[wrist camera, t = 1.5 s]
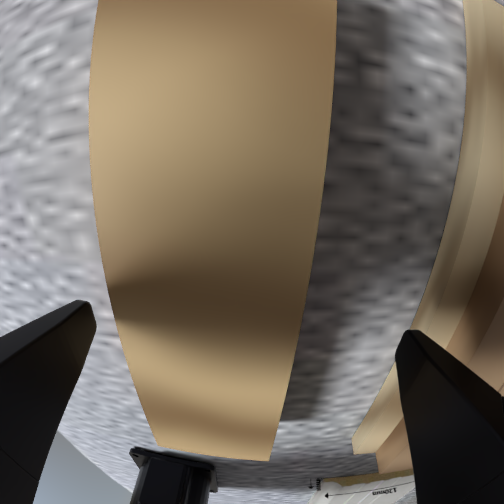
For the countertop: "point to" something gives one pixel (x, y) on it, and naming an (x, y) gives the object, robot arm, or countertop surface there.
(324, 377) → the countertop surface
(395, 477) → the baseboard molding
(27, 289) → the countertop surface
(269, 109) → the plank
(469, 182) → the floor board
